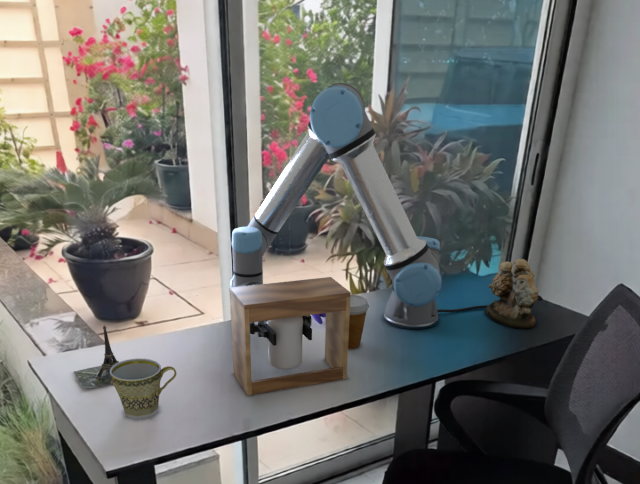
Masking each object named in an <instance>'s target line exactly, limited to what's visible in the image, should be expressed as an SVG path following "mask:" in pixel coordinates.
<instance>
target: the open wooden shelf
mask: <svg viewBox="0 0 640 484" xmlns="http://www.w3.org/2000/svg"><path fill="white" fill-rule="evenodd" d="M228 289H229V305H230V306H229V308H230V309H229V311H230V327H231V328H230V329H231V348H232V361H233V362H232V365H233V375H234V377H235V378H236V380H237V381H238V383H239V385H240V386H241V388H242V389H243V390H244V392H245V394H246V395H247V396H253V395H258V394H259V395H261V394H265V393H271V392H277V391H282V390H290V389H294V388H295V389H296V388H301V387H307V386H312V385H317V384H318V385H319V384H324V383H330V382H337V381H341V380H347V379H348V359H349V357H348V356H349V349H348V339H349V318H350V298H351V295H352V292H351V291H350V290H348V289H347V288H346V287H345V286H343V285H342V284H341V283H339V282H338V280H335V279H334V278H333V277H332V276H326V277H317V278H308V279H298V280H289V281H280V282H279V281H278V282H270V283H263V284H260V285H251V286H241V287H232V288H230V287H229V288H228ZM322 313H326V317H325V318H326V319H325V330H324V331H325V332H324V333H325V334H324V335H325V336H324V338H325V339H324V362H325V363H326V364H327V365H329V367H330V368H329V367H328V368H323V369H317V370H311V371H310V370H309V371H306V372H305V371H304V372H298V373H297V372H296V373H293V374H291V373H290V374H286V375H279V376H274V377H267V378H261V379H256V380H255V379H254V380H252V358H251V357H252V356H251V353H252V352H251V334H250V326H249V323H252V322H254V323H258V322H259V321H267V320H275V319H283V318H290V317H298V316H306V315H311V316H312V315H314V314H322ZM267 322H268V321H267Z"/></svg>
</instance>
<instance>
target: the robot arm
mask: <svg viewBox="0 0 640 484" xmlns="http://www.w3.org/2000/svg"><path fill="white" fill-rule="evenodd" d="M306 127H307V133H306V135H305V136H304V137H303V139H302V141H301V142H300V144H299V146H298V147H297V148H296V150H295V151H294V153H293V155H292V156H291V158H290V159H289V160H288V162H287V164H286V166H285V167H284V169H283V170H282V172H281V173H280V175H279V177H278V178H277V179H276V182H275V183H274V185H273V186H272V188H271V189H270V191H269V193H267V195H266V197H265V199H264V201H263V202H262V203H261V205H260V206H259V207H258V210H257V211H256V212H255V214H254V216H253V218H252V219H251V220H250V222H249V223H248V225H247V226H240V227H237V228H234V229H233V230H232V231H231V232H232V233H231V249H232V266H233V267H232V268H233V275H232V277H231V279H230V282H229V288H232V287H241V286H251V285H260V284H264V269H263V262H264V261H263V260H264V259H263V257H264V255H265V254H266V252H267V250H268V249H269V248H270V246H271V245H272V243H273V242H274V240H275V238H276V237H277V235H278V234H279V232H280V230H281V229H282V228H283V226H284V224H285V223H286V221H287V220H288V219H289V217H290V216H291V214H292V212H293V211H294V209H295V208H296V207H297V205H298V203H299V202H300V201H301V199H302V198H303V197H304V195H305V193H306V192H307V191H308V189H309V187H310V186H311V184H312V183H313V182H314V180H315V178H316V177H317V175H318V174H319V173H320V171H321V170H322V169H323V167H324V165H325V164H326V163H327V161H328V159H329V158H330V160H331V161H332V162H335V163H337V164H339V165H340V166H341V167H342V170H343V171H344V173H345V176H346V178H347V180H348V182H349V184H350V185H351V189H352V190H353V191H354V193H355V196H356V198H357V200H358V202H359V204H360V206H361V207H362V210H363V211H364V214H365V216H366V218H367V219H368V222H369V224H370V226H371V227H372V229H373V232H374V233H375V235H376V237H377V240H378V241H379V244H380V246H381V248H382V249H383V251H384V253H385V257H384V260H383V265H384V267H385V269H386V271H387V273H388V276H389V278H390V279H391V281H392V291H391V294H390V296H389V298H388V301H387V303H386V305H385V308H384V311H383V319H384V321H385V322H386V323H387V324H388V325H391V326H393V327H397V328H401V329H405V330H424V329H429V328H432V327H434V326H436V325H437V324H438V321H439V313H459V312H467V311H472V310H477V309H478V310H480V309H486V307H487V306H488V305H489V304H485V305H484V304H483V305H473V306H468V307H461V308H451V309H449V308H447V309H446V308H445V309H444V308H442V309H440V308H439V309H438V307H437V302H436V299H437V297H438V296H439V294H440V292H441V289H442V284H443V277H442V274H441V269H440V264H439V256H440V252H441V244H440V241H439V239H437V238H433V237H428V236H419V235H418V236H417V234H416V232H415V230H414V228H413V225H412V224H411V222H410V219H409V217H408V215H407V213H406V211H405V208H404V207H403V205H402V202H401V201H400V199H399V196H398V195H397V192H396V190H395V188H394V186H393V183H392V181H391V179H390V178H389V175H388V173H387V170H386V168H385V167H384V164H383V162H382V161H381V158H380V156H379V154H378V152H377V150H376V148H375V140H376V137H377V134H376V131H375V130H374V127H373V125H372V123H371V120H370V119H369V116H368V114H367V112H366V105H365V101H364V98H363V96H362V94H361V93H360V91H359V90H358V89H357V88H356V87H355V86H353V85H350V84H348V83H344V82H337V83H333V84H331V85H329V86H327V87H326V88H324V89H323V90H322V91H321V92H319V93H318V94H317V95H316V96H315V98H314V100H313V101H312V104H311V106H310V112H309V121H308V124H307V126H306ZM537 297H538V298H537V299H539V301H540V300H541V301H543V300H544V298H543V297H542V296H541V295H539V294H538V296H537ZM311 317H312V315H306V316H302V318H303V337H305V338H306V339H307V340H308V341H313V328H311V327H312V318H311ZM249 326H250V335H255V334H256V333H257V337H258V338H264V339H266V340H267V341H268V340H269V341H270V342H271V344H272V345H273V346H275V345H277V343H276V333H275V332H274V331H273V330H272V329H271V327H269V325H268V320H267V321H259V322H257V324H256V322H252V323H249Z"/></svg>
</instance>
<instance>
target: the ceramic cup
mask: <svg viewBox="0 0 640 484" xmlns="http://www.w3.org/2000/svg"><path fill="white" fill-rule="evenodd" d="M168 371H173V372H174V374H173V376H171V378H169V379H168V380H167V381H166V382H165V383H164V384H163V386H161V380H162V378H163V375H164V374H165V373H166V372H168ZM110 375H111V379H112V381H113V384H112V385H113V386H114V389H115V390H116V393H117V394H118V397H119V400H120V402H121V405H122V408H123V412H124V414H125V417H126V418H128V419H132V420H136V421H139V420H146V419H151V418H153V417H154V416H155V415H156V414H157V413H158V412H159V401H160V395H161V393H162V391H163V390H164V389H165V388H166V387H167V386H168V385H169V384H170V383H171V382H172V381H173V380H174V379H175V378H176V377H177V370H176V368H175V367H173V366H165V367H163V368H162V365H161V364H160V363H159V362H158V361H156V360H154V359H149V358H129V359H126V360H125V359H124V360H121V361H119V363H117V364H115V365H114V366H112V367H111V369H110Z"/></svg>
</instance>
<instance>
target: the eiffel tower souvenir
mask: <svg viewBox="0 0 640 484" xmlns="http://www.w3.org/2000/svg"><path fill="white" fill-rule="evenodd" d="M102 329H103V338H104V339H103V340H104V354H103V356H104V358H103V362H102V363H101V365H97V366H94V367H88V368H83V369H80V370H75V371H73V374H74V376H75V378H76V379H77V380H78V382H79V383H80V385H81V387H82V388H83V389H93V388H99V387H105V386H109V385H114V384H113V381H112V379H111V375H110V369H111V367H112V366H114V365H115V364H117V363H119V362H120V360H117V358H116V357H115V355H114V352H113V351H112V348H111V343H110V340H109V335H108V331H107V326H106V325H103V326H102Z"/></svg>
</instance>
